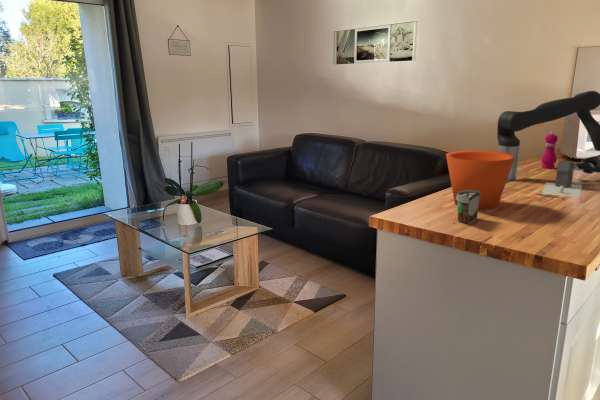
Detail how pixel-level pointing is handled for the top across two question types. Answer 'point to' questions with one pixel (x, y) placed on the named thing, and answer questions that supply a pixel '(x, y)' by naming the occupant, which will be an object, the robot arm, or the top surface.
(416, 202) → the top surface
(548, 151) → the pepper mill
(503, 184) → the flowerpot
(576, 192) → the plate
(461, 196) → the food container
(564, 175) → the charcoal link
